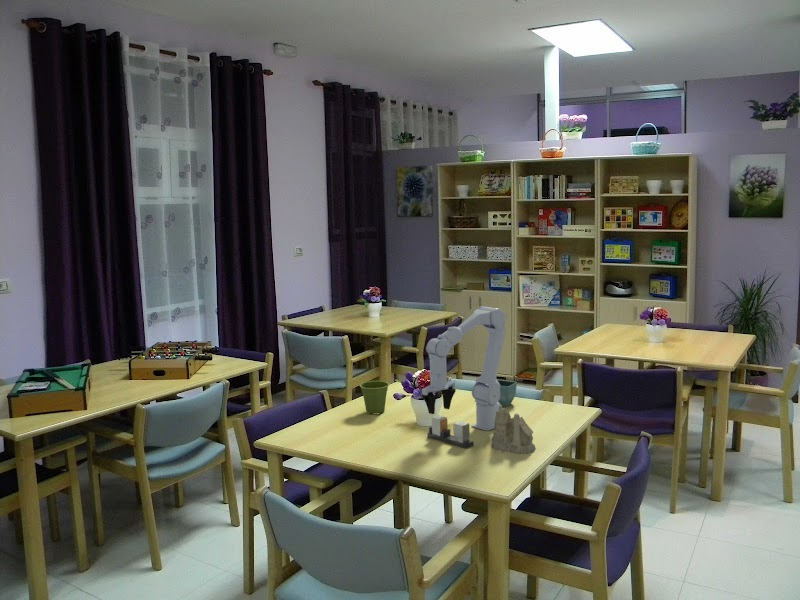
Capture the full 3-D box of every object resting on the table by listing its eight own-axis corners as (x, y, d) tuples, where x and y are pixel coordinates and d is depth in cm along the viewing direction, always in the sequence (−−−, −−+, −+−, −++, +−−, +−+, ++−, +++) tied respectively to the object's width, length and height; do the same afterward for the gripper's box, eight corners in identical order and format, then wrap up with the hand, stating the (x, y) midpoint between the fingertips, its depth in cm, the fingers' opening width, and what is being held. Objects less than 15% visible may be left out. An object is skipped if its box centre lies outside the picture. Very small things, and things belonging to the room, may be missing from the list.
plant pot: (356, 410, 288) (355, 383, 287) (382, 406, 293) (382, 379, 292) (367, 417, 278) (366, 389, 276) (394, 413, 283) (394, 385, 281)
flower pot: (517, 403, 293) (517, 381, 291) (508, 408, 285) (508, 386, 284) (497, 400, 297) (497, 379, 296) (488, 405, 290) (488, 384, 289)
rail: (427, 436, 253) (427, 416, 252) (435, 434, 256) (435, 413, 255) (465, 448, 240) (465, 426, 239) (473, 445, 242) (473, 424, 241)
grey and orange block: (439, 431, 254) (438, 415, 253) (448, 434, 250) (447, 417, 250) (432, 433, 251) (431, 417, 251) (441, 436, 248) (440, 419, 247)
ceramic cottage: (524, 456, 231) (524, 410, 230) (482, 448, 241) (481, 404, 240) (548, 446, 243) (547, 402, 242) (506, 438, 253) (506, 396, 252)
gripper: (431, 378, 240) (432, 417, 242) (461, 371, 250) (461, 408, 252) (417, 375, 246) (418, 413, 247) (446, 368, 255) (447, 405, 257)
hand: (439, 411), depth 250 cm, fingers open, 7 cm apart
